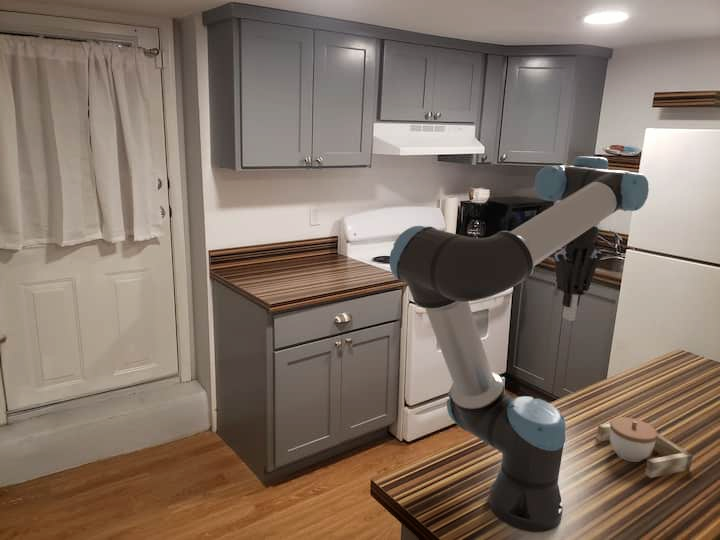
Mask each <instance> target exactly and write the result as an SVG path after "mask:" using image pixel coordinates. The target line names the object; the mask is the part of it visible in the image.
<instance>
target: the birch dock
mask: <svg viewBox="0 0 720 540" xmlns="http://www.w3.org/2000/svg"><path fill="white" fill-rule="evenodd" d="M610 424H611V422H609V423H603V424H602V423H601V424H598V425H597V432H596V436H595V437H596V440H598V441H599V442H605V441H610ZM657 434H658V435H657V439H656V442H655V446H654V449H653V451H655V452H656V453H657V454H660V455H661V456H660V457H654V458H649V459H647V464H646V468H645V473H644V475H646V476H647V477H648V478H650V479H651V478H655V477H661V476H667V475H671V474H676V473H681V472H684V471H690V469H691V465H692V461H693V454H692V453H690V452H688V450H685V449H684V448H682V447H681V446H679V445H677V444H675V443H674V442H673V441H671V440H669V439H668V438H666V436H665V437H664V435H661V434H660V433H658V432H657Z"/></svg>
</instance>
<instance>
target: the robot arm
mask: <svg viewBox="0 0 720 540" xmlns="http://www.w3.org/2000/svg"><path fill="white" fill-rule="evenodd" d="M649 189H650V188H649V181H648V179H647V177H646V176H645V175H644V174H643V173H639V172H638V173H637V172H633V171H629V170H615V169H609V161H608V159H607V158H605V157H601V156H600V157H599V156H581V155H579V156H576V157H575V158H574V160H573V163H572V165H559V164H558V165H557V164H553V165H547V166H545V167H542V168H541V169H540V170H539V171H538V172H537V173H536V175H535V178H534V190H535V192H536V195H537V196H538V197H539V198H541V199H542V200H544V201H550V202H551V201H553V202H557V201H559V202H557V203H555V204H553V205H552V206H550V207H548V208H547V209H545V210H543V211H541V212H540V213H539V214H537V215H535V216H534V217H531V218H530V219H529V220H527V221H526V222H524V223H522V224H520V225H519V226H517V227H516V228H514V229H512V230H510V231H508V230H501V231H498V232H496V233H494V234H493V235H491V236H487V237H479V238H478V237H471V236H470V237H469V236H465V235H461V234H457V233H452V232H449V231H444V230H441V229H440V230H439V229H437V228H436V227H434V226H423V225H413V226H411V227H409V228H407V229H406V230H404V231H403V232H402V233H400V235H398V237H396V238H397V239H396V240H395V241H394V243H393V248H392V249H391V251H390V255H389V267H390V271H391V273H392V275H393V277H395V278H396V279H397V280H398V281H400V282H402V283H406V284H407V285H406V286H408V289H409V292H410V294H411V296H412V297H411V298H412V299H413V302H414V303H415V305H417V306H418V307H419V308H422V309H424V310H425V311H426V314H427V317H428V320H429V322H430V325H431V327H432V330H433V333H434V335H435V337H436V338H435V339H436V341H437V343H438V346H439V348H440V351H441V354H442V357H443V359H444V361H445V364H446V367H447V370H448V372H449V375H450V377H451V380H452V384H451V388H450V389H449V390H448V394H447V396H448V397H449V398H448V399H447V400H446V409H447V413H448V415H449V417H450V418H451V420H452V421H453V422H454V423H455V425H457V426H458V427H459V428H461V429H462V430H464V431H467V432H468V433H470V434H471V435H473V436H475V437H476V438H478V439H479V440H481V441H483V442H484V443H486V444H488V445H489V446H491V447H492V448H494V450H497V451H498V452H500V453H501V455H502V456H501V464H500V465H501V466H500V470H499V471H498V473H497V476H496V479H495V481H494V482H493V483H492V485H491V486H490V488H489V489H490V490H489V494H488V495H489V496H488V504H489V505H488V506H489V508H490V510H491V512H492V513H493V514H494V515H495V516H496V517H497V518H498V519H500V520H501V521H502V522H504V523H506V524H507V525H510V526H511V527H514V528H516V529H519V530H523V531H528V532H546V531H550V530H552V529H554V528H557V527H558V525H560V522H561V521H562V516H563V509H564V506H563V502H562V496H561V492H560V487H559V478H560V477H559V475H560V470H561V464H562V457H563V450H564V445H565V443H566V421H565V417H564V415H563V414H562V413H561V412H560V410H559V409H558V408H557V407H556V406H554V405H553V404H551V403H549V402H547V401H546V400H544V399H541V398H539V397H537V398H534V397H533V396H528V395H521V396H516V397H513V396H511V395H510V394H509V393H507V391H506V389H505V386H504V383H503V380H502V378H501V377H500V375H499V374H498V373H497V372H495V371H493V370H492V369H491V366H490V363H489V361H488V356H487V353H486V350H485V348H484V345H483V343H482V339H481V336H480V335H481V334H480V333H479V329H478V327H477V324H476V321H475V318H474V316H473V312H472V309H471V305H470V302H476V301H480V300H485V299H487V298H491V297H494V296H496V295H499V294H501V293H504V292H506V291H508V290H509V289H512V288H513V287H516V286H517V285H519V284H520V283H522V282H524V281H525V280H526V279H528V278H529V277H530V276H531V275H532V274H533V272H534V267H535V266H536V265H538V264H540V263H541V262H543V261H544V260H546V259H547V258H548V257H550V256H551V255H552V258H553V260H554V261H555V278H556V289H557V290H558V291H560V292H562V293H563V298H562V306H563V310H562V318H563V319H565V320H567V321H570V322H572V321H575V320H576V315H577V308H578V307H579V305H580V300H581V296H583V295H584V294H585V292H588V291H589V289H590V287H591V284H592V282H593V278H594V275H595V272H596V270H597V267H598V264H599V262H600V260H601V259H602V258H603V255H604V254H603V253H602V252H600V251H598V250H597V249H596V245H595V243H596V242H597V241H598V238H599V231H600V227H599V224H600V223H601V222H602V221H603V220H605V219H607V218H608V217H609V216H610V215H612V214H614V213H615V212H617V211H619V210H622V211H624V212H627V211H630V212H635V211H638V210H640V209H641V208H643V206H644V205H645V204H646V201H647V200H648V196H649ZM557 251H558V252H557Z"/></svg>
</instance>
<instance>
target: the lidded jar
mask: <svg viewBox="0 0 720 540" xmlns="http://www.w3.org/2000/svg"><path fill="white" fill-rule="evenodd" d="M610 423H611V424H610V440H609V441H610V445H611V447H612V449H613V451H614V452H615V454H616V456H618V457H619V458H620V459H623V460H625V461H628V462H633V463H639V462H641V461H642V460H644V459H646V458H648V457H649V456H651V454H652V452H653V451H654V450H653V449H654V446H655V442H656V439H657V435H658V434H659V433H658V431H657V430H656V429H655V428H654V426H652V425H650V423H647V422H644V421H642V420H640V419H636V418H631V417H625V416H624V417H623V416H622V417H616V418H614V419H612V420H611V421H610ZM657 433H658V434H657Z"/></svg>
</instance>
